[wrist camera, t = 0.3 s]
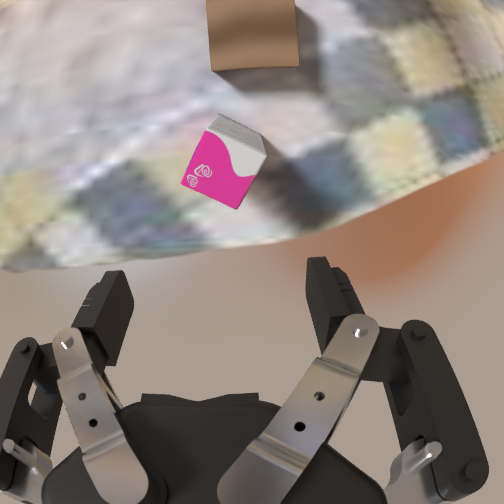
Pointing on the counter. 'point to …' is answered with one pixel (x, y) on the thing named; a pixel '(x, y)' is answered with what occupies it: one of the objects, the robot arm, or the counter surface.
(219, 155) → the supplement box
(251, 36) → the brown cardboard box
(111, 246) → the counter surface
